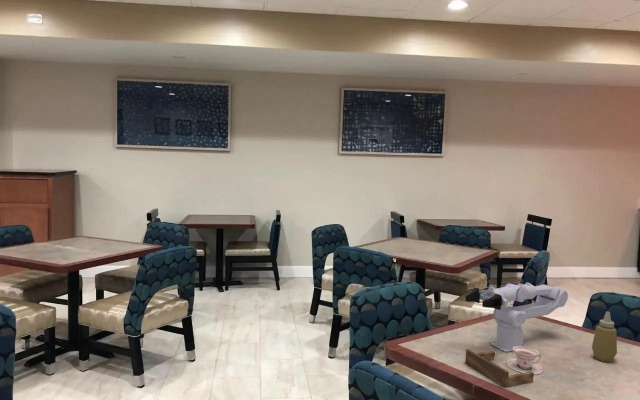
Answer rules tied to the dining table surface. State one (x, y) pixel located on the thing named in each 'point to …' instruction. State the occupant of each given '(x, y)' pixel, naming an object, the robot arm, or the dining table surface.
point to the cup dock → (495, 369)
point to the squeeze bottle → (605, 340)
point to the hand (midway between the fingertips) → (474, 301)
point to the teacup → (525, 360)
